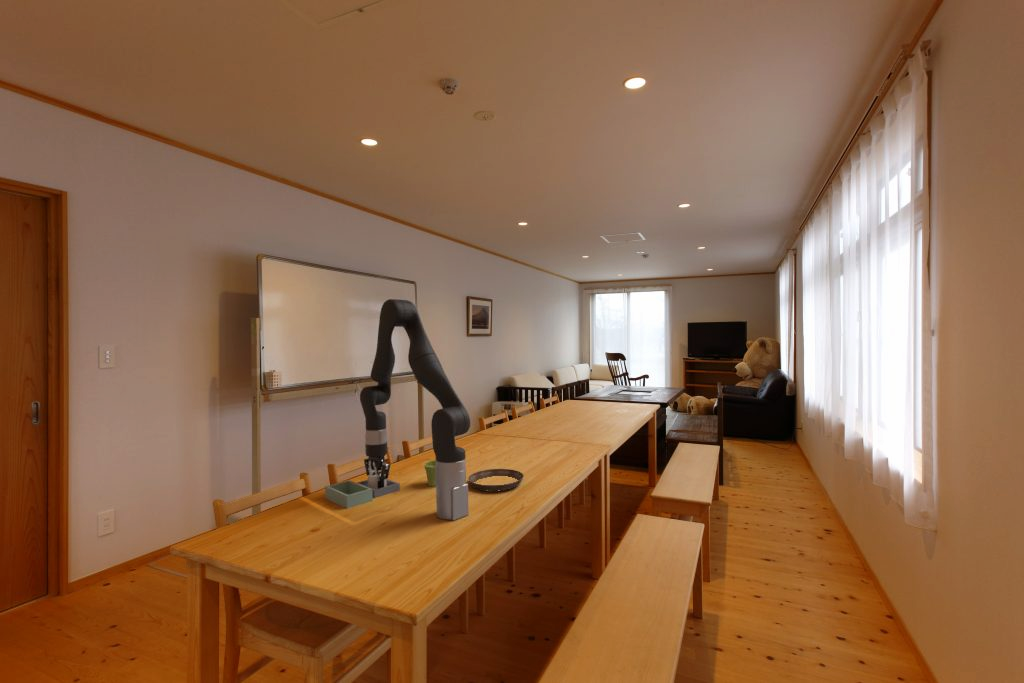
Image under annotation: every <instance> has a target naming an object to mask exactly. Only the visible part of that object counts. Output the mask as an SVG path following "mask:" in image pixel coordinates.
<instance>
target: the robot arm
mask: <svg viewBox="0 0 1024 683" xmlns="http://www.w3.org/2000/svg"><path fill="white" fill-rule="evenodd" d="M420 316H421V315H420V314H419V311H418V309H417V307H416V305H415V304H414V303H413V302H412V301H410V300H407V299H399V298H398V299H395V298H394V299H392V298H391V299H390V298H389V299H386V300H385V301H384V302H383V303H382V305H381V309H380V312H379V321H378V331H377V332H378V333H377V343H376V350H375V354H374V356H375V357H374V360H373V363H372V368H371V371H370V378H371V380H372V381H374V382H375V383H377V385H370V386H364V387H363V388H362V389H361V391H360V393H359V394H360V395H359V401H360V404H361V408H362V411H363V414H364V417H365V418H364V419H365V434H364V438H365V440H364V441H365V443H364V445H365V449H364V450H365V456H366V457H367V458H364V459H363V463H364V467H365V468H364V469H365V473H366V474H365V475H366V476H367V477H368V476H372V475H377V480H378V489H379V488H382V487H384V480H385V479H388V480H389V475H390V468H391V463H387V462H386V459H385V456H386V455H387V454H388V432H387V416H386V413H385V412H383V411H381V410H380V411H378V410H377V407H376V406H379V405H380V406H381V405H384V404H386V403H388V401H390V398H391V396H392V387H391V386H392V381H391V380H392V374H393V371H394V367H395V363H396V354H395V350H394V347H393V342H392V336H393V332H394V329H395V327H397V328H398V327H399V328H403V329H404V331H405V332H406V334H407V336H408V339H409V347H408V355H407V357H408V358H407V360H408V364H409V367H410V369H411V371H412V373H413V375H414V378H415V379H416V381H417V383H419V384H420V385H421V386H422V387H423V388H424V389H426V391H428V392H429V393H430V394H432V396H434V398H435V399H436V400H437V401H438V402H439V405H441V408H440V409H437V410H436V411H435V412H433V415H432V418H431V438H432V449H433V453H434V455H435V460H436V487H435V494H436V496H435V500H436V517H437V518H439V519H442V520H452V521H455V520H456V521H457V520H458V519H461V518H464V517H466V516H469V513H470V512H469V511H470V510H469V509H470V508H469V484H468V483H467V478H466V477H467V475H466V474H467V473H466V472H467V471H466V470H467V469H466V467H467V466H466V450H465V449H464V448H463V447H461V446H457V445H456V438H455V437H458V436H462V435H464V434H467V433H468V431H469V430H470V428H471V418H470V414H469V412H468V410H467V409H466V407H465V405H464V403H462V401H461V399H460V398H459V396H458V394H457V393H456V391H455V389H454V387H453V386H452V384H451V381H450V380H449V378H448V376H447V374H446V372H445V371H444V368H443V366H442V364H441V361H440V359H439V357H438V356H437V353H436V352H435V350H434V348H433V346H432V344H431V342H430V339H429V337H428V336H427V333H426V331H425V327H424V325H423V323H422V320H421V317H420ZM380 474H381V476H380Z"/></svg>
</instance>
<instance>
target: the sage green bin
mask: <svg viewBox="0 0 1024 683" xmlns="http://www.w3.org/2000/svg"><path fill="white" fill-rule="evenodd" d="M324 490H325V492H324V495H325V497H324V498H325V499H326V500H329V501H330V502H333V503H334V504H337V505H339V506H341V507H343V508H345V509H351V508H354V507H358V506H361V505H364V504H368V503H370V502H373V501H374V500H373V497H372V489H371V488H369V487H366V486H363V485H361V484H358V483H357V482H355V481H352V480H350V479H349V480H345V481H341V482H337V483H333V484H329V485H326V486H324Z"/></svg>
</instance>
